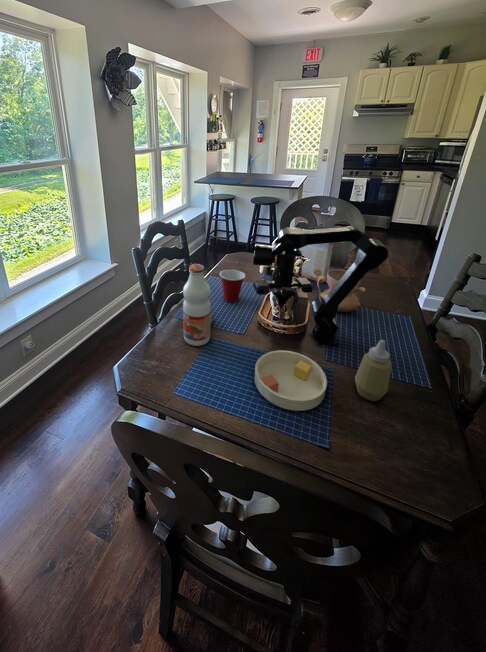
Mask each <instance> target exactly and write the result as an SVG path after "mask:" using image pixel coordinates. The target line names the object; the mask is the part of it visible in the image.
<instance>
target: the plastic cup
mask: <svg viewBox="0 0 486 652" xmlns="http://www.w3.org/2000/svg"><path fill="white" fill-rule="evenodd" d="M219 277H220V280H221V286H222V293H223V298H224V300H225V301H226V302H228V303H235V302H237V301H238V299H239V297H240V293H241V289H242V285H243V282H244V280H245V278H246V273H244V272H243V271H240V270H236V269H224V270H220V272H219Z"/></svg>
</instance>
